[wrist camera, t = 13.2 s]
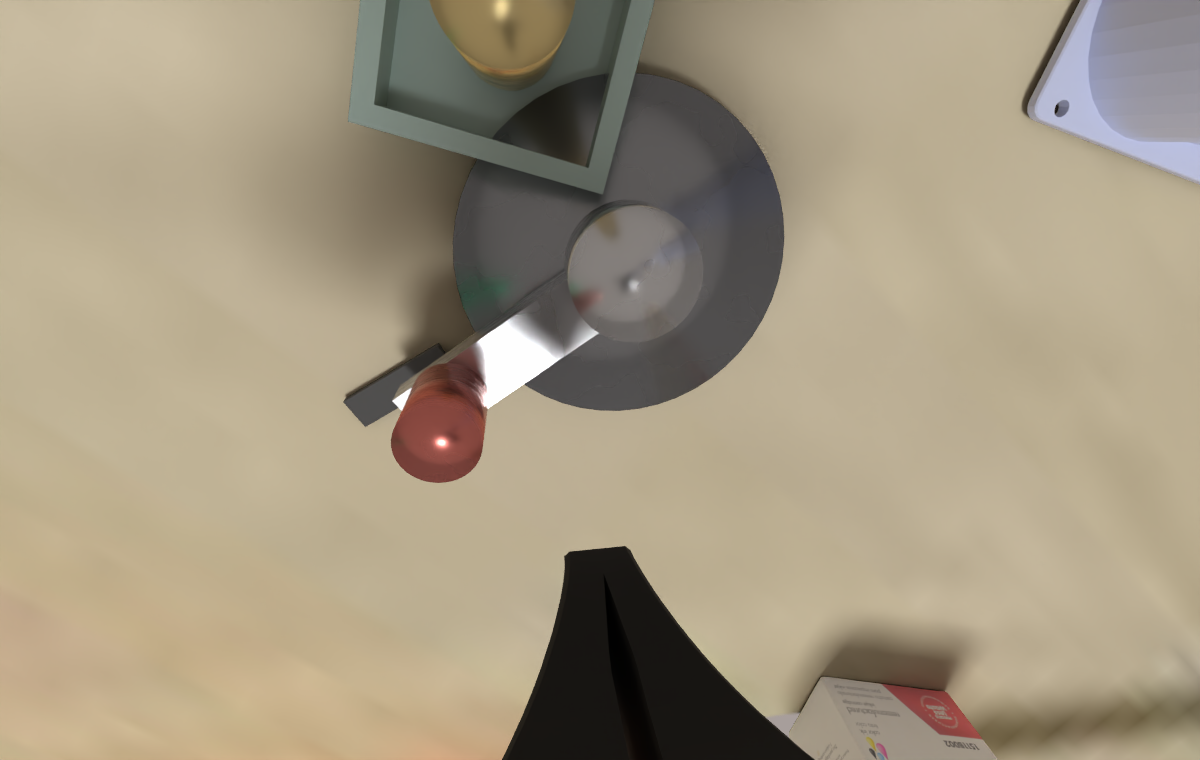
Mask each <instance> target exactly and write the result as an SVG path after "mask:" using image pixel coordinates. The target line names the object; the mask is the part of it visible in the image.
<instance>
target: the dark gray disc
mask: <svg viewBox="0 0 1200 760" xmlns="http://www.w3.org/2000/svg"><path fill="white" fill-rule="evenodd" d="M608 76H609V73H607V74H601V75H596V76H591V77H586V78H581V79H578V80H575V81H572V82H570V83H567V84H564V85H561V86H559V87H556V88H554V89H553V90H551V91H549V92H547V93H545V94H543V95H541V96H539V97H538V98H536V99H534V100H533V101H532V102H530V103H529V104H528V105H526V106H525V107H523V108H522V109H521V110H519V111H518V112H517V113H515V114H514V115H513V116H512V117H511V118H510V119H509V120H508V121H507V122H506V123H505V124H504V125H503V126H502V127H501V128H500V129H499V130H498V131H497V132H496V134H495V135H494V136H493V138H492V139H494V140H498V141H501V142H504V143H508V144H511V145H514V146H518V147H521V148H525V149H528V150H531V151H535V152H538V153H541V154H545V155H548V156H552V157H555V158H558V159H562V160H565V161H568V162H572V163H575V164H579V165H582V166H585V167H586V163H587V159H588V155H589V151H590V147H591V143H592V139H593V135H594V131H595V127H596V123H597V119H598V115H599V111H600V107H601V103H602V99H603V95H604V91H605V87H606V83H607V79H608ZM617 200H638V201H642V202H646V203H649V204H651V205H653V206H655V207H657V208H659V209H661V210H663V211H665V212H667V213H669V214H670V215H672V216H674V217H675V218H677V219H678V220H679V221H681V222H682V223H683V224H684V225H685V226H686V227H687V228H688V229H689V230H690V232H691V233H692V235H693V236H694V238H695V240H696V242H697V244H698V246H699V249H700V252H701V255H702V260H703V282H702V287H701V291H700V293H699V296H698V299H697V301H696V303H695V305H694V307H693V308H692V310H691V311H690V313H689V314H688V315H687V316H686V318H685V319H684V320H683V321H682V322H681V323H680V324H679V325H678V326H676V327H675V328H674V329H672V330H671V331H669V332H668V333H666V334H664V335H662V336H660V337H657V338H655V339H652V340H648V341H643V342H622V341H617V340H613V339H610V338H608V337H605V336H603V335H601V334H600V333H598V334H597V335H595V336H594V337H592V338H591V339H589V340H588V341H586V342H585V343H583V344H582V345H580V346H579V347H577V348H576V349H575V350H573V351H572V352H570V353H569V354H567V355H566V356H564V357H563V358H561V359H560V360H558V361H557V362H555V363H554V364H552V365H551V366H549V367H548V368H546V369H545V370H544V371H542V372H541V373H539V374H538V375H536V376H535V377H533V378H532V379H530V380H529V381H527V382H526V383H524V384H525V385H526V386H528V387H529V388H531V389H533V390H535V391H537V392H538V393H540V394H542V395H544V396H546V397H549V398H551V399H554V400H556V401H559V402H561V403H565V404H568V405H572V406H576V407H580V408H586V409H594V410H610V411H621V410H630V409H639V408H644V407H648V406H652V405H657V404H660V403H663V402H666V401H668V400H671V399H674V398H677V397H679V396H681V395H683V394H685V393H687V392H689V391H691V390H693V389H695V388H696V387H698V386H700V385H701V384H703V383H704V382H706V381H707V380H709V379H710V378H712V377H713V376H714V375H715V374H717V373H718V372H719V371H720V370H722V369H723V368H724V367H725V366H726V365H727V364H728V363H729V362H730V361H731V360H732V359H733V358H734V357H735V356H736V355H737V354H738V353H739V352H740V351H741V350H742V348H743V347H744V346H745V345H746V343H747V342H748V341H749V340H750V338H751V337H752V336H753V334H754V332H755V331H756V329H757V327H758V326H759V324H760V323H761V321H762V319H763V317H764V315H765V313H766V311H767V309H768V307H769V305H770V302H771V300H772V297H773V294H774V291H775V288H776V285H777V282H778V279H779V274H780V269H781V264H782V258H783V246H784V223H783V213H782V207H781V201H780V195H779V192H778V189H777V186H776V182H775V179H774V176H773V173H772V171H771V169H770V167H769V165H768V163H767V160H766V158H765V156H764V154H763V152H762V151H761V149H760V148H759V146H758V145H757V143H756V142H755V140H754V139H753V137H752V135H751V134H750V133H749V132H748V131H747V130H746V128H745V127H744V126H743V125H742V124H741V123H740V122H739V120H738V119H737V118H736V117H735V116H733V115H732V114H731V113H730V112H729V111H728V110H726V109H725V108H724V107H723V106H722V105H721V104H719V103H718V102H716V101H715V100H713V99H712V98H710V97H708V96H707V95H705V94H704V93H702V92H700V91H699V90H697V89H694V88H692V87H690V86H687V85H685V84H683V83H680V82H678V81H675V80H671V79H667V78H663V77H660V76H656V75H649V74H640V73H635V76H634V80H633V83H632V87H631V91H630V95H629V98H628V102H627V106H626V109H625V113H624V117H623V121H622V124H621V128H620V132H619V136H618V139H617V143H616V147H615V151H614V154H613V158H612V162H611V166H610V169H609V173H608V177H607V180H606V184H605V188H604V192H603V194H599V193H596V192H592V191H589V190H585V189H582V188H578V187H575V186H571V185H568V184H564V183H561V182H557V181H554V180H550V179H547V178H543V177H540V176H536V175H533V174H529V173H526V172H522V171H519V170H515V169H512V168H508V167H505V166H501V165H498V164H494V163H491V162H487V161H484V160H480V159H477V161H476V163H475V165H474V166H473V168H472V170H471V172H470V174H469V177H468V179H467V182H466V184H465V187H464V189H463V192H462V194H461V198H460V202H459V206H458V210H457V214H456V218H455V228H454V237H453V260H454V270H455V276H456V282H457V287H458V291H459V294H460V297H461V301H462V304H463V307H464V310H465V312H466V314H467V316H468V318H469V321H470V323H471V325H472V327H473V329H474V330H475V332H477V331H478V330H480V329H481V328H482V327H484V326H485V325H487V324H488V323H490V322H491V321H492V320H494V319H495V318H497V317H498V316H500V315H501V314H502V313H504V312H505V311H507V310H508V309H510V308H511V307H512V306H514V305H515V304H517V303H518V302H520V301H521V300H522V299H524V298H525V297H527V296H528V295H530V294H531V293H532V292H534V291H535V290H537V289H538V288H540V287H541V286H542V285H544V284H545V283H547V282H548V281H549V280H551V279H552V278H554V277H555V276H557V275H558V274H559V273H561V272H562V271H564V258H565V251H566V247H567V244H568V241H569V238H570V236H571V234H572V232H573V231H574V229H575V228H576V226H577V225H578V223H579V222H580V221H581V220H582V219H583V218H584V217H585V216H586V215H587V214H589V213H590V212H591V211H592V210H594V209H596V208H597V207H599V206H601V205H604V204H606V203H609V202H612V201H617Z"/></svg>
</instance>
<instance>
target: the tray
mask: <svg viewBox="0 0 1200 760" xmlns="http://www.w3.org/2000/svg"><path fill="white" fill-rule="evenodd" d="M654 1H655V0H575V6H574V12H573V15H572V19H571V22H570V24H569V27H568V29H567V31H566V33H565V36H564V38H563V40H562V42H561V45H560V47H559V49H558V51H557V54H556V56H555V58H554V60H553V62H552V65H551V67H550V68H549V70H548V72H547V73H546V74H545V75H544V77H543V78H542V79H541V80H539V81H538V82H537V83H535V84H534V85H532V86H530V87H528V88H525V89H522V90H517V91H508V90H502V89H498V88H495V87H493V86H491V85H489V84H487V83H486V82H484V81H483V80H482V79H481V78H479V77H478V76H477V75H476V74H475V73H474V71H473V70H472V69H471V67H470V66H469V65H468V64H467V62H466V61H465V60H464V58H463V57H462V56H461V54H460V53H459V52H458V50H457V49H456V48H455V46H454V45H453V44H452V42H451V41H450V40H449V38H448V37H447V36H446V34H445V33H444V31H443V30H442V28H441V26H440V25H439V23H438V21H437V19H436V17H435V15H434V13H433V10H432V7H431V4H430V1H429V0H360V8H359V18H358V27H357V37H356V47H355V57H354V67H353V76H352V86H351V96H350V106H349V116H348V122H351V123H355V124H358V125H362V126H365V127H369V128H372V129H376V130H379V131H383V132H386V133H390V134H393V135H397V136H400V137H404V138H407V139H411V140H414V141H418V142H421V143H425V144H428V145H432V146H435V147H439V148H442V149H446V150H449V151H453V152H456V153H460V154H463V155H467V156H470V157H474V158H477V159H480V160H484V161H487V162H491V163H494V164H498V165H501V166H505V167H508V168H512V169H515V170H519V171H522V172H526V173H529V174H533V175H536V176H540V177H543V178H547V179H550V180H554V181H557V182H561V183H564V184H568V185H571V186H575V187H578V188H582V189H585V190H589V191H592V192H596V193H599V194H603V192H604V188H605V184H606V180H607V177H608V173H609V169H610V166H611V162H612V158H613V154H614V151H615V147H616V143H617V139H618V136H619V132H620V128H621V124H622V121H623V117H624V113H625V109H626V106H627V102H628V98H629V95H630V91H631V87H632V83H633V80H634V76H635V72H636V68H637V65H638V61H639V57H640V53H641V50H642V46H643V42H644V38H645V35H646V31H647V27H648V23H649V20H650V16H651V12H652V9H653V5H654ZM607 73H609V76H608V79H607V83H606V87H605V91H604V95H603V99H602V103H601V107H600V111H599V115H598V119H597V123H596V127H595V131H594V135H593V139H592V143H591V147H590V151H589V155H588V159H587V163H586V167H585V166H582V165H579V164H575V163H572V162H568V161H565V160H562V159H558V158H555V157H552V156H548V155H545V154H541V153H538V152H535V151H531V150H528V149H525V148H521V147H518V146H514V145H511V144H508V143H504V142H501V141H498V140H494V139H492V138H493V136H494V135H495V134H496V132H497V131H498V130H499V129H500V128H501V127H502V126H503V125H504V124H505V123H506V122H507V121H508V120H509V119H510V118H511V117H512V116H513V115H514V114H515V113H517V112H518V111H519V110H521V109H522V108H523V107H525V106H526V105H528V104H529V103H530V102H532V101H533V100H534V99H536V98H538V97H539V96H541V95H543V94H545V93H547V92H549V91H551V90H553V89H554V88H556V87H559V86H561V85H564V84H567V83H570V82H572V81H575V80H578V79H581V78H586V77H591V76H596V75H601V74H607Z"/></svg>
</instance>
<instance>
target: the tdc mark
mask: <svg viewBox="0 0 1200 760" xmlns="http://www.w3.org/2000/svg"><path fill="white" fill-rule="evenodd" d="M444 354H445V351H444V350H443V349H442V347H441V346H440V345H439V343H438V344H436V345H435V346H433V347H431V348H430V349H428V350H426V351H425V352H423V353H421V354H420V355H418V356H416V357H415V358H413V359H411V360H409V361H408V362H406V363H404V364H403V365H401V366H399V367H398V368H396V369H394V370H393V371H391V372H389V373H388V374H386V375H384V376H383V377H381V378H379V379H378V380H376V381H374V382H372V383H371V384H369V385H367V386H366V387H364V388H362V389H361V390H359V391H357V392H356V393H354V394H352V395H351V396H349V397H347V398H346V399H345V400H344V403H345V404H346V406H347V407H348V408H349V409H350V410H351V411H352V412H353V413H354V415H355V416H356V417H357V418H358V419H359V420H360V421H361V422H362V424H363V425H364V426H365V427H366V426H368V425H369V424H371V423H373V422H375V421H376V420H378V419H380V418H381V417H383V416H385V415H387V414H388V413H390V412H392V411H393V410H395V409H397V408H398V407H397V405H396V404H395V403H394V402H393V401H392V400H393V398H394V396H395V394H396V392H397V390H398V388H399V386H400V385H401V384H403V383H404V382H405V381H407V380H408V379H410V378H411V377H413V376H414V375H415V374H417V373H418V372H420V371H421V370H423V369H424V368H425V367H427V366H428V365H430V364H431V363H433V362H434V361H435V360H437V359H438V358H440V357H441V356H443V355H444Z"/></svg>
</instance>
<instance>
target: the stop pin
mask: <svg viewBox="0 0 1200 760" xmlns="http://www.w3.org/2000/svg"><path fill="white" fill-rule="evenodd" d="M429 1H430V4H431V7H432V10H433V13H434V15H435V17H436V19H437V21H438V23H439V25H440V26H441V28H442V30H443V31H444V33H445V34H446V36H447V37H448V38H449V40H450V41H451V42H452V44H453V45H454V46H455V48H456V49H457V50H458V52H459V53H460V54H461V56H462V57H463V58H464V60H465V61H466V62H467V64H468V65H469V66H470V67H471V69H472V70H473V71H474V73H475V74H476V75H477V76H478V77H479V78H481V79H482V80H483V81H484V82H486V83H487V84H489V85H491V86H493V87H495V88H498V89H502V90H508V91H517V90H522V89H525V88H528V87H530V86H532V85H534V84H535V83H537V82H538V81H539V80H541V79H542V78H543V77H544V75H545V74H546V73H547V72H548V70H549V68H550V67H551V65H552V62H553V60H554V58H555V56H556V54H557V51H558V49H559V47H560V45H561V42H562V40H563V38H564V36H565V33H566V31H567V29H568V27H569V24H570V22H571V19H572V15H573V12H574V6H575V0H429Z"/></svg>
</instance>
